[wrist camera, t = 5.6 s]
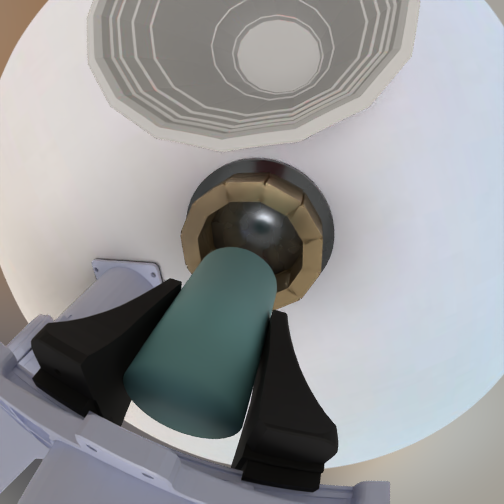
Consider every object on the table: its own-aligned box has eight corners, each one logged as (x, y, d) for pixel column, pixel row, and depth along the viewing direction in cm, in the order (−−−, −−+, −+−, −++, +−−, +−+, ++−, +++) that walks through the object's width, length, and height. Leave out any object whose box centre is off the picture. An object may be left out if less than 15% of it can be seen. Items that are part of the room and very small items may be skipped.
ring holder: (328, 297, 23) (329, 324, 20) (199, 289, 25) (184, 313, 22) (336, 158, 18) (340, 167, 15) (180, 162, 20) (158, 172, 17)
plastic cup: (361, -7, 12) (400, -108, 2) (357, 137, 17) (418, 175, 7) (203, -9, 14) (102, -81, 4) (198, 126, 19) (77, 156, 9)
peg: (277, 318, 16) (248, 446, 9) (204, 312, 17) (146, 423, 10) (275, 248, 14) (235, 379, 7) (191, 246, 15) (105, 352, 8)
